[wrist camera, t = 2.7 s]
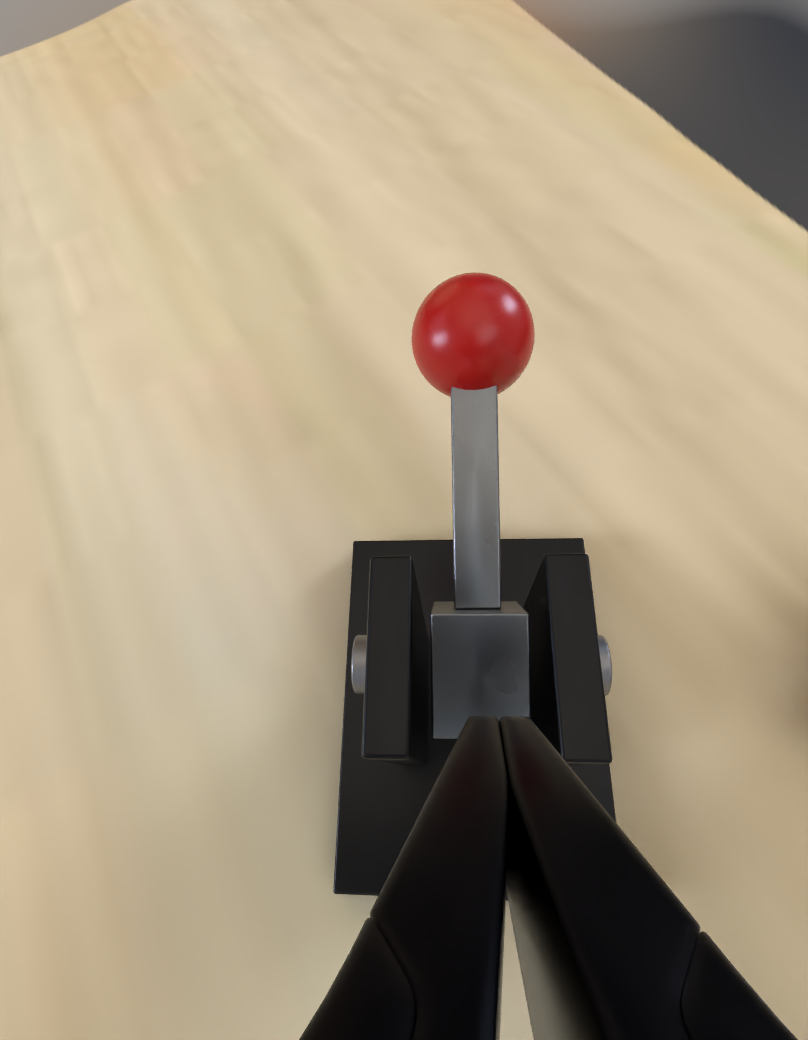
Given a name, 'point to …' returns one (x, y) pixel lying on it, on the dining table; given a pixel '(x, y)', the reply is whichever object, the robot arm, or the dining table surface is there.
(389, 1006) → the robot arm
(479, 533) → the switch lever
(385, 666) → the switch bracket
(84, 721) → the dining table surface
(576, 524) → the dining table surface
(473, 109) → the dining table surface
